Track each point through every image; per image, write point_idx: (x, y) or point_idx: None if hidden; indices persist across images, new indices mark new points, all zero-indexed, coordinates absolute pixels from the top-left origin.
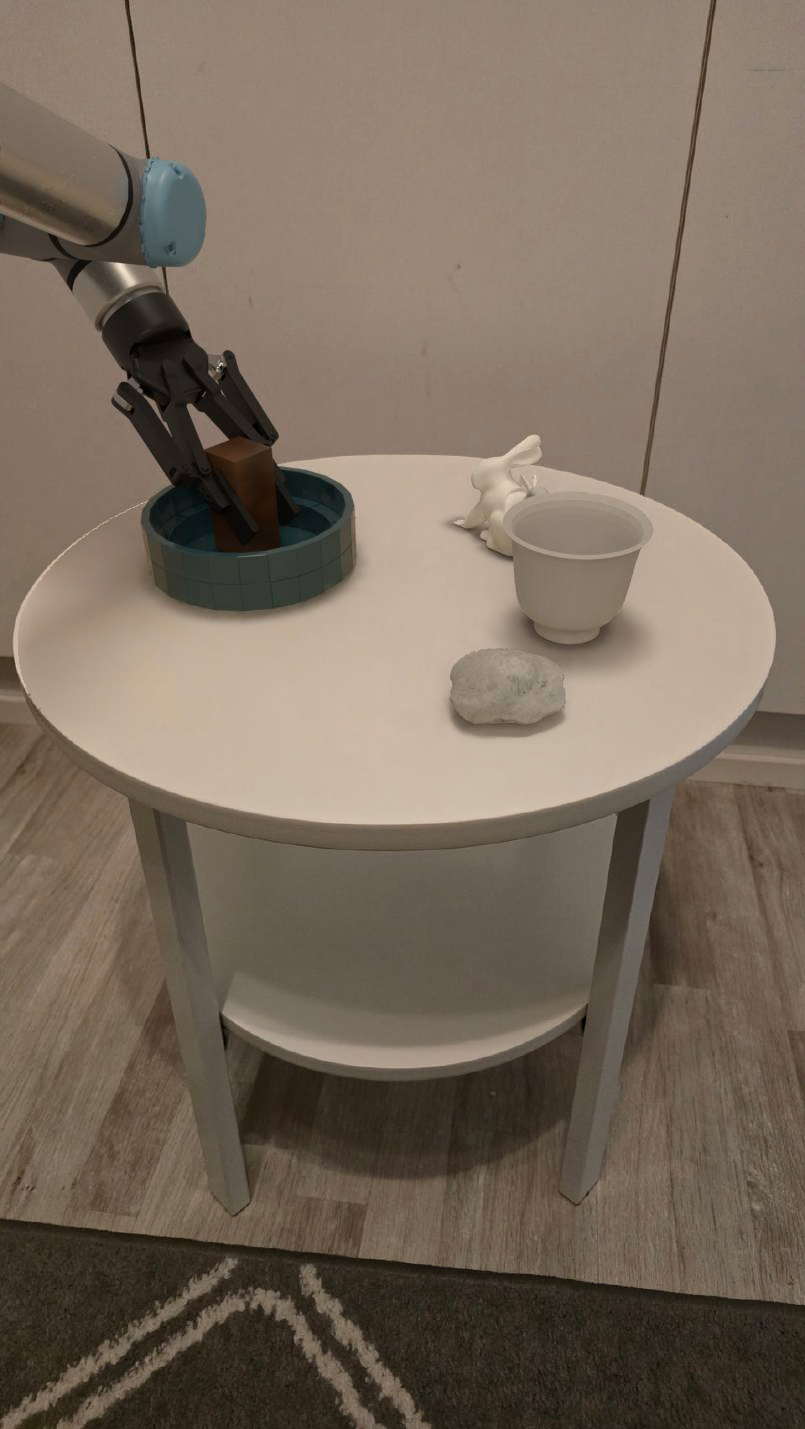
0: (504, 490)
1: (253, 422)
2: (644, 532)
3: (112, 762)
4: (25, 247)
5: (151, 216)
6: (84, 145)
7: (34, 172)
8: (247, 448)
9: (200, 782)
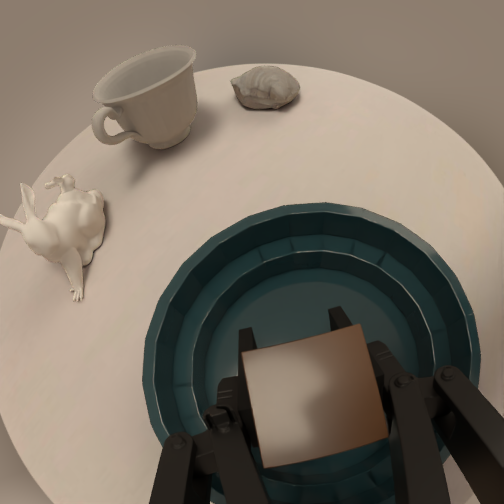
0: (58, 213)
1: (194, 494)
2: (127, 64)
3: (488, 167)
4: None
5: None
6: None
7: None
8: (292, 384)
9: (446, 131)
